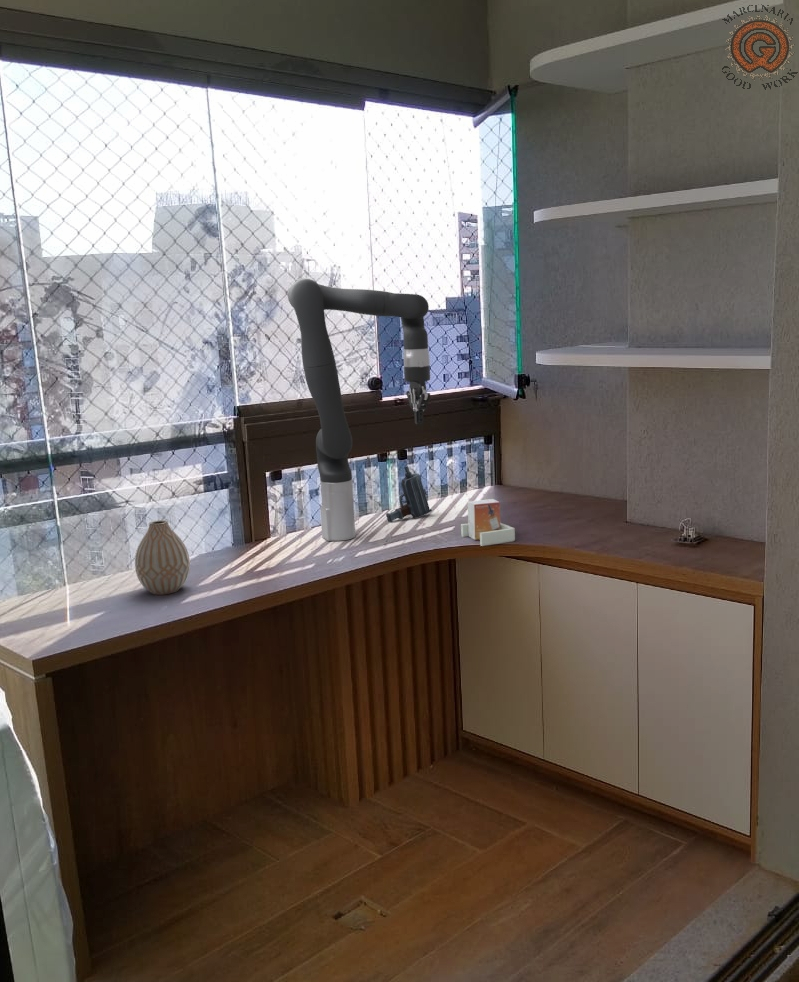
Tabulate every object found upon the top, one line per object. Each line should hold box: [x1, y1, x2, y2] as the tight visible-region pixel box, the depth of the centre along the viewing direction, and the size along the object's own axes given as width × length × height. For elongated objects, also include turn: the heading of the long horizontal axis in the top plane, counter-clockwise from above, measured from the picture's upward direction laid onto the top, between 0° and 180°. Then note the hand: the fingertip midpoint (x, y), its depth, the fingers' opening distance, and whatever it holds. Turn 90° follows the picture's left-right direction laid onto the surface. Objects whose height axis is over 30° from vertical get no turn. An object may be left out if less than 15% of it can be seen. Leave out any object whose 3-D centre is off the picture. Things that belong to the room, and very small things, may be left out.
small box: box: [467, 498, 501, 541], centre depth 272 cm, size 8×6×10 cm
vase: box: [134, 519, 191, 596], centre depth 233 cm, size 13×13×18 cm
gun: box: [385, 465, 433, 523], centre depth 299 cm, size 3×17×15 cm
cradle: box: [460, 522, 516, 547], centre depth 271 cm, size 11×13×4 cm
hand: (419, 423), depth 279 cm, fingers closed
